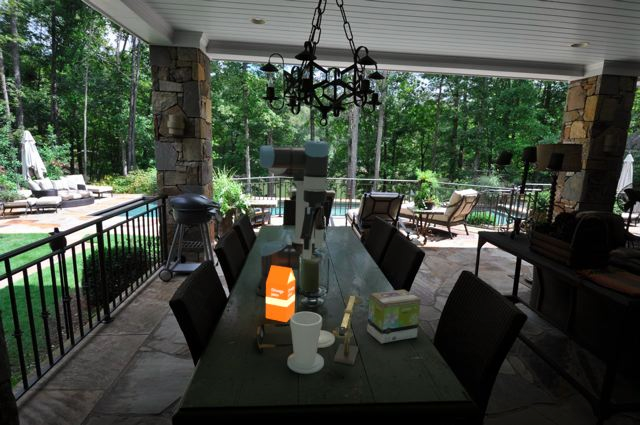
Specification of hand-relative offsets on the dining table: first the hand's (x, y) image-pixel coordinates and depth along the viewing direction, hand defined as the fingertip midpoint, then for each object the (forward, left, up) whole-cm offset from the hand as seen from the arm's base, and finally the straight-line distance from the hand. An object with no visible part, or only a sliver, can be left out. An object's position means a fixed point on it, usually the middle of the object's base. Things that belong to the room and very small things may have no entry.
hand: (313, 253), depth 120 cm
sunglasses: (-9, -6, -31) cm, 32 cm away
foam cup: (+3, -15, -29) cm, 33 cm away
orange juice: (-16, +13, -30) cm, 36 cm away
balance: (+14, -7, -30) cm, 34 cm away
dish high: (+3, 0, -30) cm, 30 cm away
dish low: (+3, -15, -30) cm, 34 cm away
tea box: (+27, +12, -30) cm, 42 cm away
